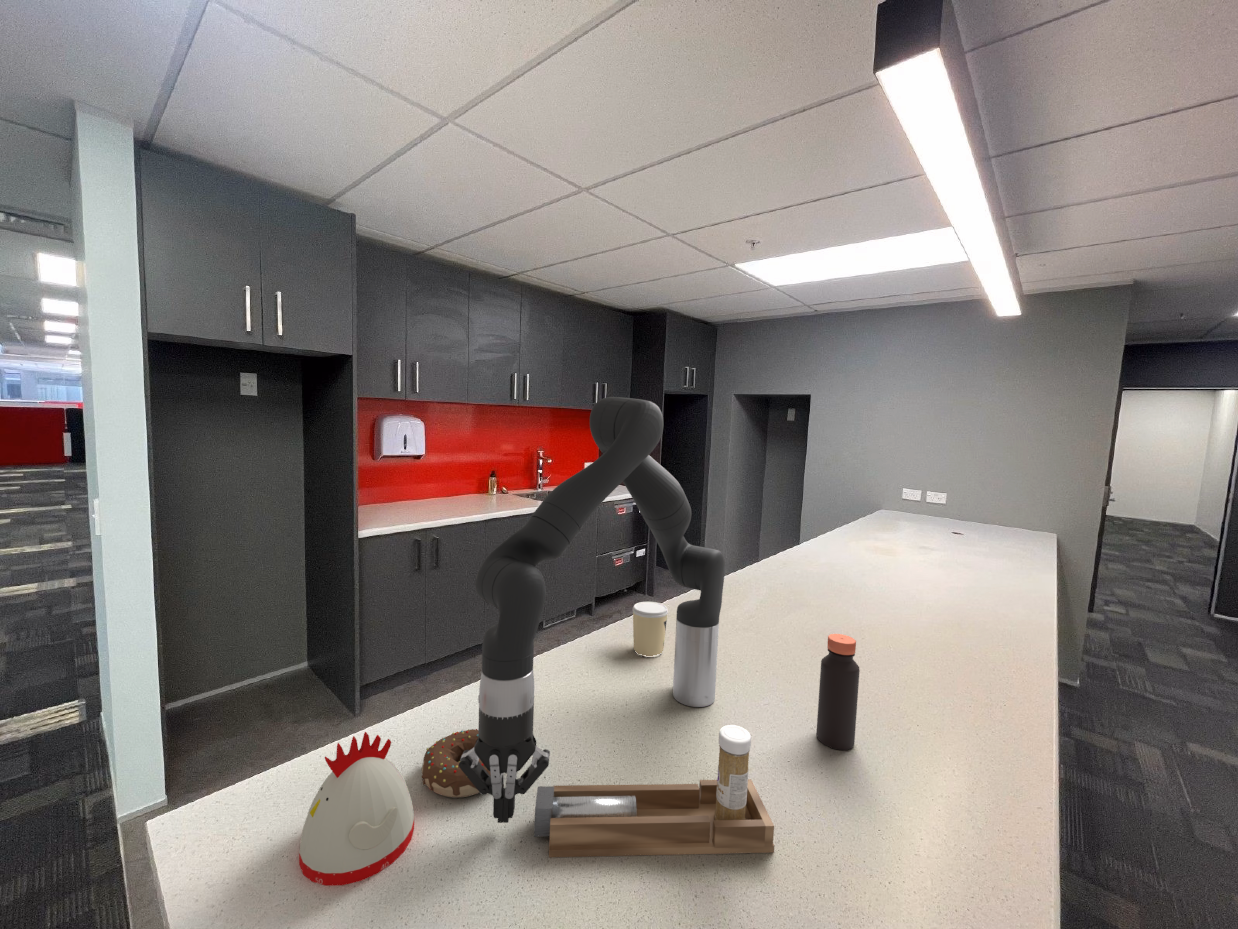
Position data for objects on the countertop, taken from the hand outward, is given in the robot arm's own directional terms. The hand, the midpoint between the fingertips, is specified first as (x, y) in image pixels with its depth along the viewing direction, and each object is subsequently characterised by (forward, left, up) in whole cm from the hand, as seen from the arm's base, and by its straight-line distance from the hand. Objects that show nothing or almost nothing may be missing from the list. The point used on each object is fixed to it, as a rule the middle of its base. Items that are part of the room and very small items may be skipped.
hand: (503, 818), depth 71 cm
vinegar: (-21, +60, -2) cm, 63 cm away
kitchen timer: (+1, -19, -2) cm, 19 cm away
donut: (-12, -8, -2) cm, 15 cm away
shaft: (0, +12, -1) cm, 12 cm away
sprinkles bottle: (0, +33, -1) cm, 33 cm away
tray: (0, +22, -2) cm, 22 cm away
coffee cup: (-60, +29, -2) cm, 66 cm away
